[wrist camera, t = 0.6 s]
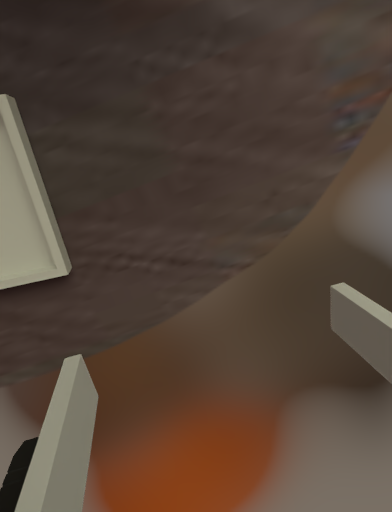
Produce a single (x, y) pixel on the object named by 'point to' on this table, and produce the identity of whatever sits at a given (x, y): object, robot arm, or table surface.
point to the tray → (25, 209)
